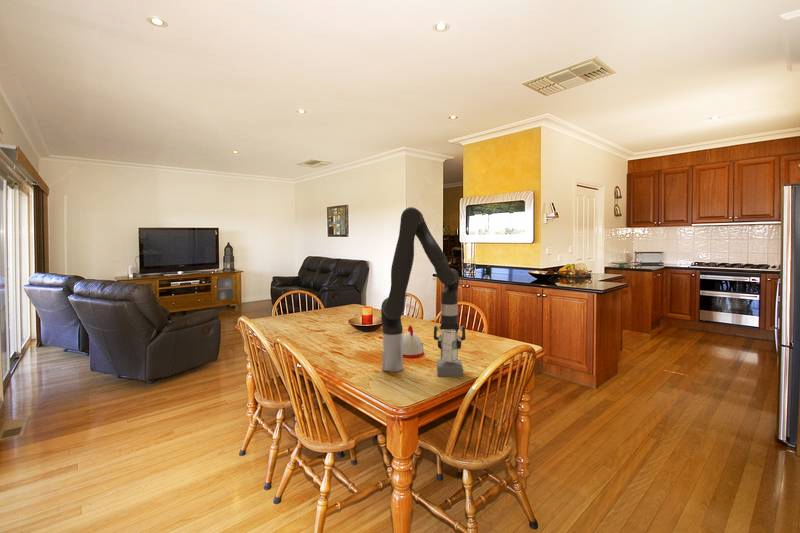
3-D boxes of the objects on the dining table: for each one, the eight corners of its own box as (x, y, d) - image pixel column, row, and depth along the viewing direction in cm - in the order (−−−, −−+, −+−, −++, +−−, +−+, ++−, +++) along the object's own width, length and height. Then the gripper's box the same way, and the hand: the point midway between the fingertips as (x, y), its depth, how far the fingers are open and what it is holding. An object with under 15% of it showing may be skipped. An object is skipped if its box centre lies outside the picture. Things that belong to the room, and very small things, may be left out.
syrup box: (446, 357, 181) (446, 326, 180) (458, 359, 177) (458, 328, 176) (440, 360, 176) (440, 328, 175) (451, 362, 173) (451, 330, 171)
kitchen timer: (400, 359, 196) (400, 329, 195) (395, 351, 210) (394, 323, 208) (426, 357, 199) (426, 328, 198) (420, 349, 213) (419, 322, 211)
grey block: (437, 376, 172) (437, 367, 172) (437, 367, 183) (437, 359, 183) (462, 376, 171) (462, 367, 171) (460, 367, 182) (460, 359, 182)
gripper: (433, 315, 172) (433, 351, 173) (466, 315, 171) (466, 351, 172) (433, 311, 179) (433, 346, 181) (464, 311, 178) (464, 346, 180)
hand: (449, 348), depth 176 cm, fingers closed on syrup box, 8 cm apart
